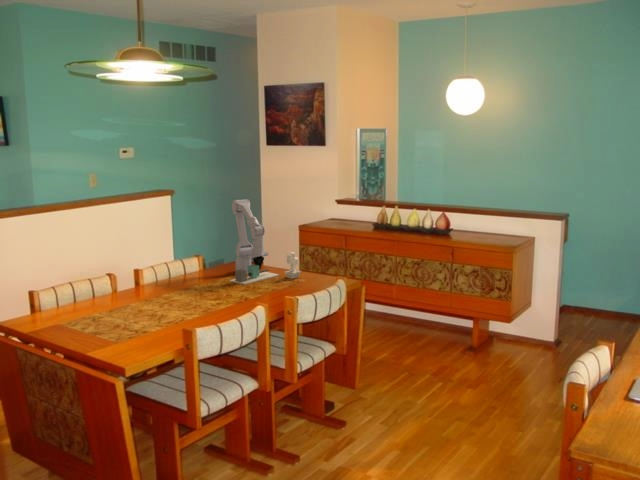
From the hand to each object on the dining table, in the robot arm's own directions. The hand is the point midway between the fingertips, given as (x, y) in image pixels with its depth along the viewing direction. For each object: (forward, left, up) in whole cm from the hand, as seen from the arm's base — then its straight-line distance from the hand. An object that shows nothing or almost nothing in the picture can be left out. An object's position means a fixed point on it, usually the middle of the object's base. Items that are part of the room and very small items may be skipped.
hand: (258, 269), depth 373 cm
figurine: (+15, +13, -5) cm, 21 cm away
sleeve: (0, -4, -3) cm, 5 cm away
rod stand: (0, -3, -5) cm, 6 cm away
